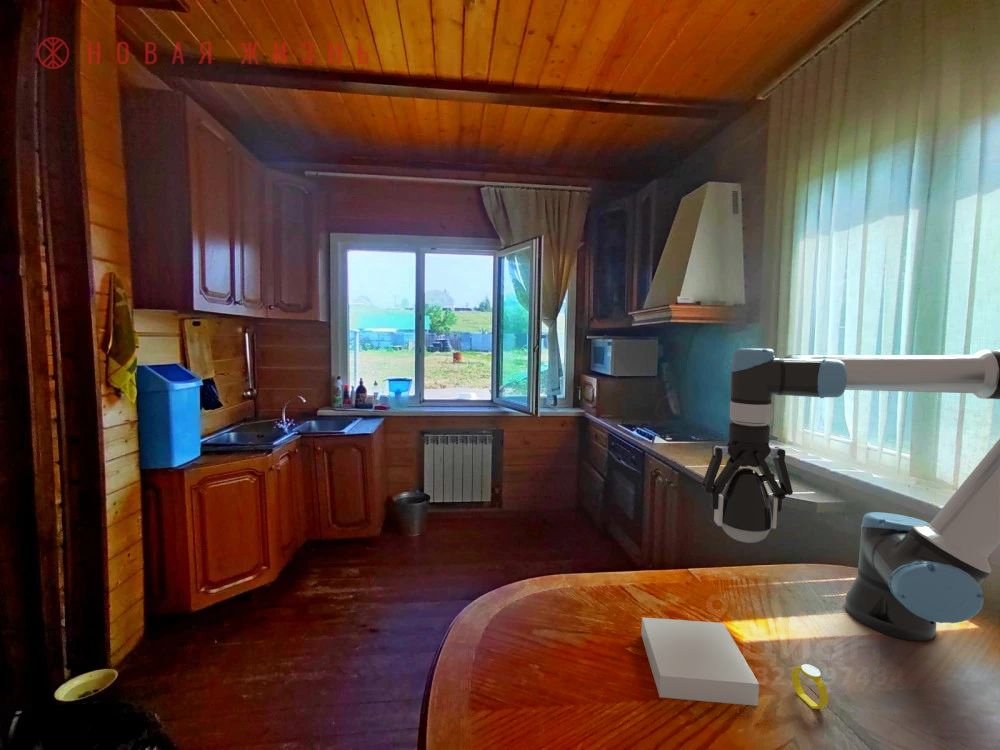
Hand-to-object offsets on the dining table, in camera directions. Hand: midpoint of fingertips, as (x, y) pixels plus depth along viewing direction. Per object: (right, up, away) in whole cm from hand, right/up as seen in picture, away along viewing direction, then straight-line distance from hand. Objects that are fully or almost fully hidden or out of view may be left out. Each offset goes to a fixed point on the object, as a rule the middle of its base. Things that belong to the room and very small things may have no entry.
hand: (744, 524), depth 98 cm
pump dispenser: (0, -3, 0) cm, 3 cm away
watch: (0, -24, -20) cm, 31 cm away
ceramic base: (-16, -23, -12) cm, 30 cm away
